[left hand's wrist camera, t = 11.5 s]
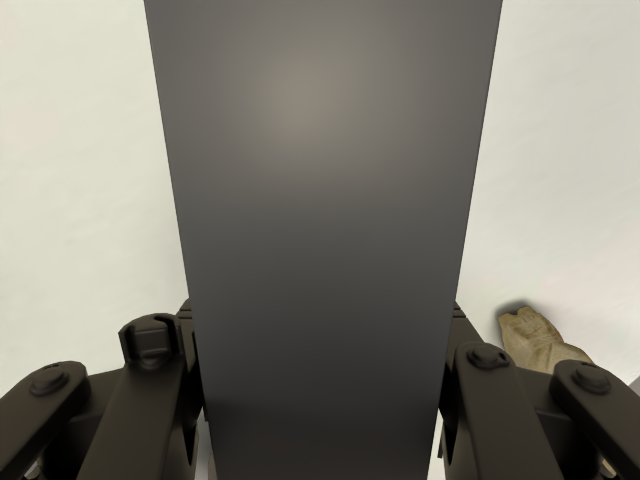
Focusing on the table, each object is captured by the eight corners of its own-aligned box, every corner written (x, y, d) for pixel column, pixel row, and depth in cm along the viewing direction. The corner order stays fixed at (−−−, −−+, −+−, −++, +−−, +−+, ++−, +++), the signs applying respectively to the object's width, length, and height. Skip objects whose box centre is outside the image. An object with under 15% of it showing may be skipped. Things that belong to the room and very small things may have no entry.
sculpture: (498, 361, 40) (592, 500, 26) (483, 310, 37) (579, 434, 23) (550, 345, 39) (677, 480, 25) (539, 292, 37) (672, 409, 23)
